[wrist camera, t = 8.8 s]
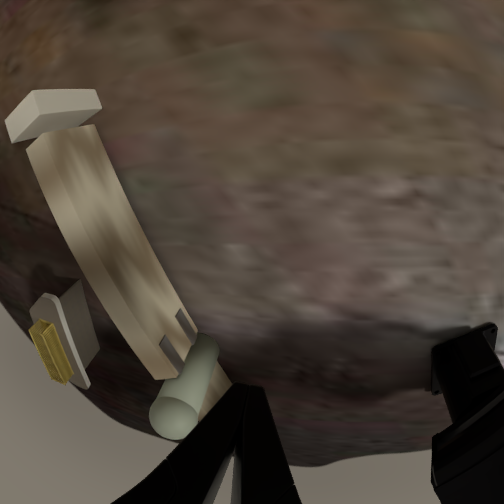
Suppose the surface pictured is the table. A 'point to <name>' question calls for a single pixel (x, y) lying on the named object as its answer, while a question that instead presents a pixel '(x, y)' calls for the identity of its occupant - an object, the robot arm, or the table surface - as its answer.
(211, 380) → the block
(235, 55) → the table surface
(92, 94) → the cream l-shaped block
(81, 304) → the platform
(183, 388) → the hinge post
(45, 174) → the cream wooden bar
